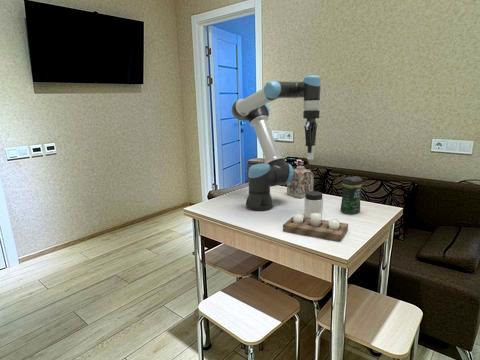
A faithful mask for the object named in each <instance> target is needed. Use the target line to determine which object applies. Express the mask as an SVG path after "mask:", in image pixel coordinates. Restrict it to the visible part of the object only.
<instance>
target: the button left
mask: <svg viewBox="0 0 480 360" xmlns="http://www.w3.org/2000/svg"><path fill="white" fill-rule="evenodd" d="M292 217H293V223H297V224H303V217H304V214H302V213H293V216H292Z"/></svg>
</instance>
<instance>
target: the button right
mask: <svg viewBox="0 0 480 360" xmlns="http://www.w3.org/2000/svg"><path fill="white" fill-rule="evenodd" d="M328 221H329V228H328V229H332V230H338V231H339V223H341V221H340V219H337V218H329V220H328Z"/></svg>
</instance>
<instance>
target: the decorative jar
mask: <svg viewBox="0 0 480 360" xmlns="http://www.w3.org/2000/svg"><path fill="white" fill-rule="evenodd" d="M314 175H315V174H314V173H313V172H312V170H311V169H307V168H305V166H304V165H297V166H296V168H293V178H292V180H291V181H290V182H289V183H287V184H286V195H288V196H291V197H292V198H293V197H294V198H297V199H302V198H304V199H305V196H306V192H309V191H314V177H315V176H314Z"/></svg>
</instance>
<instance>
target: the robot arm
mask: <svg viewBox="0 0 480 360" xmlns="http://www.w3.org/2000/svg"><path fill="white" fill-rule="evenodd" d="M321 86H322V84H321V77H320V76H319V75H306V76H304V77H303V81H279V80H277V81H276V80H270V81H267V82H266V83H265V84H264V87H263V88H262V89H259V90H257V91H256V92H254V93H252V94H251V95H248V96H247V97H245V98H239V99H237V100H235V102H233V103H232V106H231V115H232V116H233V117H234V118H235V119H237V120H238V121H245V122H247V121H248V122H249V125H250V126H251V127H253V129H254V132H255V134H256V138H257V139H258V142H259V146H260V148H261V151H262V153H263V156H264V159H265V161H266V162H265V163H257V164H253V165H251V166H249V168H248V174H247V176H248V195H247V198H246V201H245V208H246V209H248V210H249V211H253V212H254V211H256V212H257V211H258V212H263V211H265V212H266V211H269V210H272V209H273V208H274V202H273V201H274V200H273V198H272V195H271V187H277V186H282V185H283V186H284V185H287V183H289V182H290V181H291V180H292V178H293V169H294V168H293V166H292V164H290V163H289V162H286V160H285V158H284V157H282V156H281V154H280V151H279V149H278V146H277V144H276V142H275V139H274V135H273V133H272V130H271V128H270V126H269V122H268V121H269V117H270V113H271V112H270V107H269V103H271V102H273V101H276V100H277V99H285V98H286V99H299V98H303V117H302V118H303V119H304V120H305V119H306V122H305V125H304V134H305V135H304V136H305V137H304V138H305V147H306V150H307V151H306V160H314V149H315V148H314V147H315V146H317V145H316V138H317V128H318V123H317V122H316V120H317V119H319V118H320V109H321V108H320V107H321V104H322V103H321V102H320V101H321Z"/></svg>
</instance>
